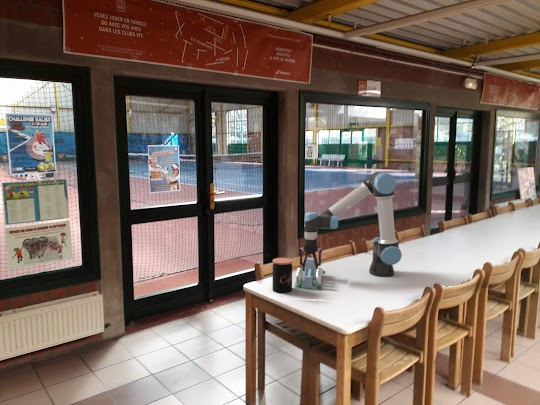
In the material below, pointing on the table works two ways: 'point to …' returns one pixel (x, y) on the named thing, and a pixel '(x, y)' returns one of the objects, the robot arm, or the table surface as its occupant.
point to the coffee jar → (282, 275)
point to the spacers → (300, 277)
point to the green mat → (313, 285)
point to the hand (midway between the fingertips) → (310, 276)
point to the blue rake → (309, 273)
